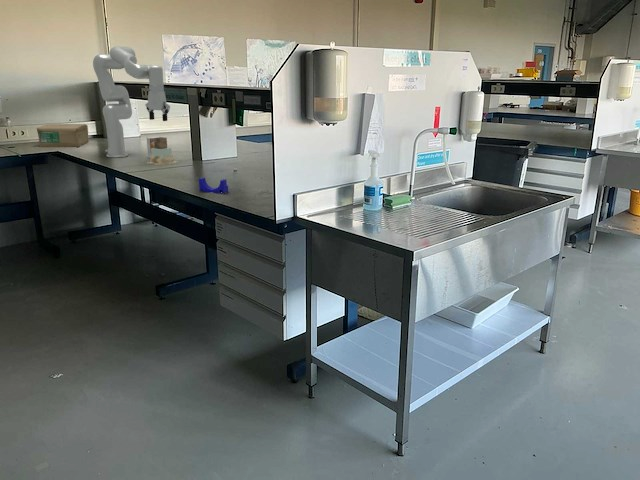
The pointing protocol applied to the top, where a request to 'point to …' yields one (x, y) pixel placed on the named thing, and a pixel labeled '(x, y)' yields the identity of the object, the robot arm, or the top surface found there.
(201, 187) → the blue cradle block
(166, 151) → the tower top
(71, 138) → the paper package
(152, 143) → the small box
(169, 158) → the tower base
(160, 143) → the walnut block
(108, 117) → the robot arm
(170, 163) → the cork mat
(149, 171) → the top surface
